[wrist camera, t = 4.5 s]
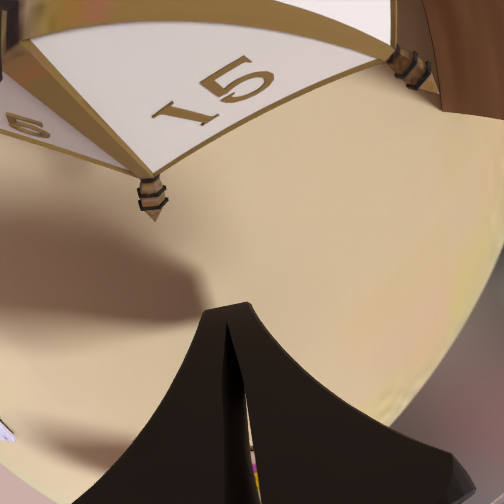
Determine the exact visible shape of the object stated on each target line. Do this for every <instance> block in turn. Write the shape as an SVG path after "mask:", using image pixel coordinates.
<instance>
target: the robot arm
mask: <svg viewBox="0 0 504 504" xmlns="http://www.w3.org/2000/svg"><path fill="white" fill-rule="evenodd" d="M245 394H246V395H245ZM246 400H247V407H248V414H249V421H250V428H251V434H252V441H253V448H254V455H255V462H256V469H257V476H258V483H259V490H260V498H261V502H260V498H259V493H258V489H257V484H256V480H255V475H254V470H253V465H252V460H251V453H250V444H249V432H248V420H247V408H246ZM0 439H1V440H5V441H10V442H15V440H16V437H15V436H14V435H13V434H12V433H11V432H10V431H9V430H8V429H7V428H6V427H5V426H4V425H3V424H2V423H1V422H0ZM475 491H476V487H475V485H474V483H473V482H472V480H471V478H470V476H469V475H468V473H467V472H466V470H465V469H464V468H463V467H462V465H461V464H460V463H459V462H458V461H457V459H456V458H455V457H454V456H453V455H452V453H449V452H446V451H444V450H441V449H438V448H435V447H432V446H430V445H427V444H424V443H422V442H419V441H417V440H415V439H412V438H410V437H407V436H405V435H403V434H401V433H399V432H397V431H395V430H393V429H391V428H389V427H387V426H385V425H383V424H381V423H379V422H378V421H376V420H374V419H373V418H371V417H369V416H368V415H366V414H364V413H363V412H361V411H359V410H358V409H356V408H354V407H353V406H351V405H349V404H348V403H346V402H345V401H343V400H342V399H341V398H339V397H338V396H336V395H335V394H334V393H332V392H331V391H330V390H328V389H327V388H326V387H324V386H323V385H322V384H321V383H319V382H318V381H317V380H316V379H314V378H313V377H312V376H311V375H310V374H309V373H308V372H306V371H305V370H304V369H303V368H302V367H301V366H300V365H299V364H298V363H297V362H296V361H295V360H294V359H293V358H292V357H291V356H290V355H289V354H288V353H287V352H286V351H285V350H284V349H283V348H282V347H281V346H280V344H279V343H278V342H277V341H276V340H275V339H274V337H273V336H272V335H271V334H270V333H269V331H268V330H267V329H266V327H265V326H264V325H263V323H262V322H261V321H260V319H259V317H258V316H257V314H256V313H255V311H254V309H253V307H252V304H250V303H249V302H243V303H238V304H233V305H228V306H223V307H218V308H213V309H208V310H205V311H204V312H203V314H202V316H201V319H200V322H199V325H198V328H197V330H196V333H195V336H194V338H193V340H192V343H191V345H190V347H189V350H188V352H187V354H186V356H185V358H184V361H183V363H182V365H181V367H180V369H179V371H178V373H177V374H176V376H175V378H174V380H173V382H172V384H171V386H170V388H169V389H168V391H167V393H166V395H165V396H164V398H163V400H162V401H161V403H160V405H159V406H158V408H157V409H156V411H155V412H154V414H153V415H152V417H151V418H150V420H149V421H148V423H147V424H146V425H145V427H144V428H143V429H142V431H141V432H140V433H139V435H138V436H137V437H136V439H135V440H134V441H133V443H132V444H131V445H130V446H129V448H128V449H127V450H126V451H125V452H124V453H123V455H122V456H121V457H120V458H119V459H118V460H117V461H116V462H115V463H114V464H113V465H112V466H111V468H110V469H109V470H108V471H107V472H106V473H105V474H104V475H103V476H102V477H101V478H100V479H99V480H98V481H97V482H96V483H95V484H94V485H93V486H92V487H91V488H89V489H88V490H87V491H86V492H85V493H84V494H82V495H81V496H80V497H79V498H78V499H76V500H75V501H74V502H73V503H72V504H461V503H462V502H464V501H465V500H466V499H468V498H469V497H471V496H472V495H473V494H474V493H475ZM491 504H504V493H503V494H502V495H501V496H500V497H498V498H497V499H496V500H495V501H493V502H492V503H491Z"/></svg>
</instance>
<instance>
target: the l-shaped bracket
mask: <svg viewBox="0 0 504 504" xmlns="http://www.w3.org/2000/svg"><path fill="white" fill-rule="evenodd" d="M422 1H423V4H424V8H425V12H426V15H427V19H428V24H429V28H430V32H431V37H432V42H433V47H434V52H435V58H436V63H437V70H438V77H439V84H440V92H441V102H442V112H452V113H461V114H469V115H476V116H483V117H489V118H495V119H501V120H504V0H422Z"/></svg>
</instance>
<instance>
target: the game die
mask: <svg viewBox="0 0 504 504" xmlns="http://www.w3.org/2000/svg"><path fill="white" fill-rule="evenodd" d="M382 62H386V63H388V64H389V65H390V67H391V68H392V69H393V70H394V72H395V75H394V76H395V77H396V78H399V79H403V80H404V81H405V82H406V83H407V85H406V87H408V88H409V89H413V90H417V89H418V88H419V89H423V90H426V91H430V92H434V93H437V94H439V91H438V88H437V85H436V83H435V80H434V77H433V75H432V72H431V63H430V62H429V61H427V62H424V61H423V60H421V59H420V58H419V57H418V53H417V52H415V51H414V52H413V53H411V52H409V51H406V50H404V49H401V48H400V47H399V45H398V44H397V0H0V133H1V134H5V135H8V136H11V137H14V138H18V139H21V140H24V141H27V142H31V143H34V144H37V145H40V146H43V147H47V148H50V149H53V150H56V151H59V152H62V153H65V154H68V155H71V156H74V157H77V158H80V159H83V160H86V161H89V162H92V163H95V164H98V165H101V166H104V167H107V168H110V169H113V170H116V171H119V172H122V173H125V174H128V175H130V176H133V177H136V178H139V179H140V180H141V182H140V188H137V192H138V195H139V198H140V200H138V203H139V206H140V210H141V211H145V212H146V213H147V214H148V215H149V216H150V217H151V218H152V219H153V220H154V221H155V222H156V220H157V218H158V216H159V214H160V212H161V210H162V207H163V206H164V205H165V204H166V203H167V202H168V201H169V200H168V198H167V197H165V193H164V191H165V190H166V186H164V185H162V183H161V181H160V179H159V175H160V173H162V172H163V171H165V170H166V169H168V168H169V167H171V166H172V165H174V164H176V163H177V162H179V161H180V160H182V159H184V158H185V157H187V156H188V155H190V154H192V153H193V152H195V151H197V150H198V149H200V148H202V147H203V146H205V145H207V144H209V143H210V142H212V141H214V140H215V139H217V138H219V137H221V136H222V135H224V134H226V133H228V132H230V131H231V130H233V129H235V128H237V127H239V126H241V125H242V124H244V123H246V122H248V121H250V120H252V119H254V118H256V117H258V116H260V115H262V114H264V113H266V112H268V111H269V110H272V109H274V108H276V107H278V106H280V105H282V104H284V103H286V102H288V101H290V100H292V99H294V98H296V97H299V96H301V95H303V94H305V93H307V92H310V91H312V90H314V89H316V88H319V87H321V86H323V85H326V84H328V83H330V82H333V81H335V80H338V79H340V78H343V77H345V76H348V75H350V74H353V73H355V72H358V71H360V70H363V69H366V68H369V67H371V66H374V65H377V64H380V63H382Z"/></svg>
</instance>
